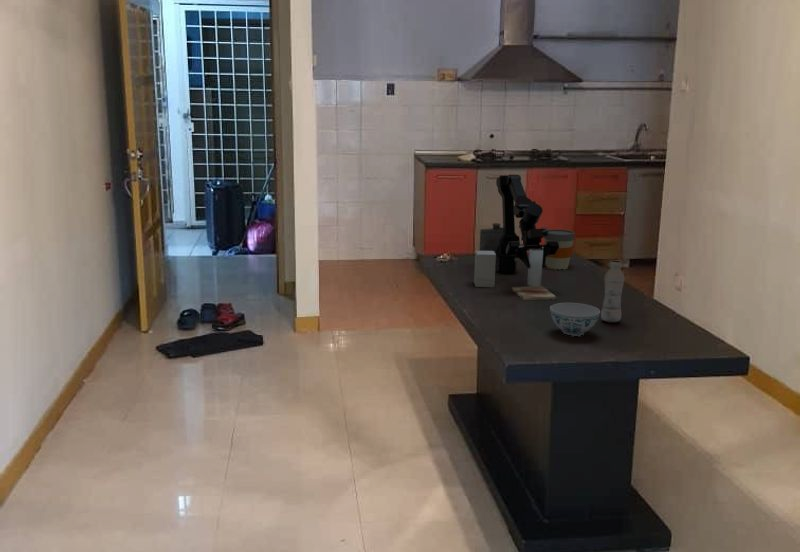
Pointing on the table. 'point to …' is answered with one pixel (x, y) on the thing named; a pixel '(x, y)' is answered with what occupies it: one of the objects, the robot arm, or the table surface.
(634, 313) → the table surface
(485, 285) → the supplement box
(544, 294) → the beige flat rectangular panel
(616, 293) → the plastic bottle
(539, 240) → the robot arm
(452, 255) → the table surface
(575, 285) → the table surface
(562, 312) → the chinaware
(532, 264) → the grey flared tumbler
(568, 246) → the reusable coffee cup
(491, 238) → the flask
